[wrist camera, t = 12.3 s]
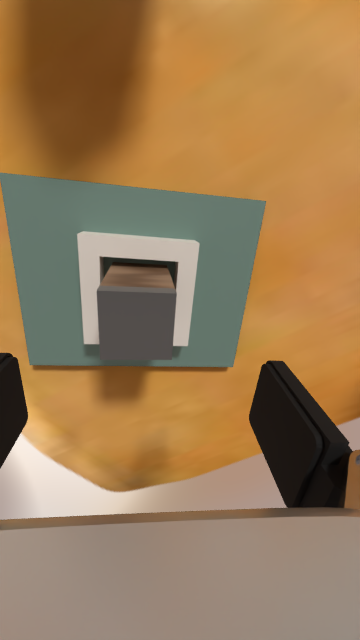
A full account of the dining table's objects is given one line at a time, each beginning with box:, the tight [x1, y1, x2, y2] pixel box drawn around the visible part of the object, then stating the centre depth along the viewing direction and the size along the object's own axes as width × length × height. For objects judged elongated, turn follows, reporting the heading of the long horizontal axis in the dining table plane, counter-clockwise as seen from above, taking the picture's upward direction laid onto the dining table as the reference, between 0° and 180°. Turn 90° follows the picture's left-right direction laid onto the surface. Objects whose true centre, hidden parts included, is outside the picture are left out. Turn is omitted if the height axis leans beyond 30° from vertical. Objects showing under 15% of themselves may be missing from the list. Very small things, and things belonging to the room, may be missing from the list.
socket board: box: [0, 173, 266, 367], centre depth 23 cm, size 20×16×3 cm
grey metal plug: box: [97, 262, 177, 360], centre depth 19 cm, size 4×4×8 cm
